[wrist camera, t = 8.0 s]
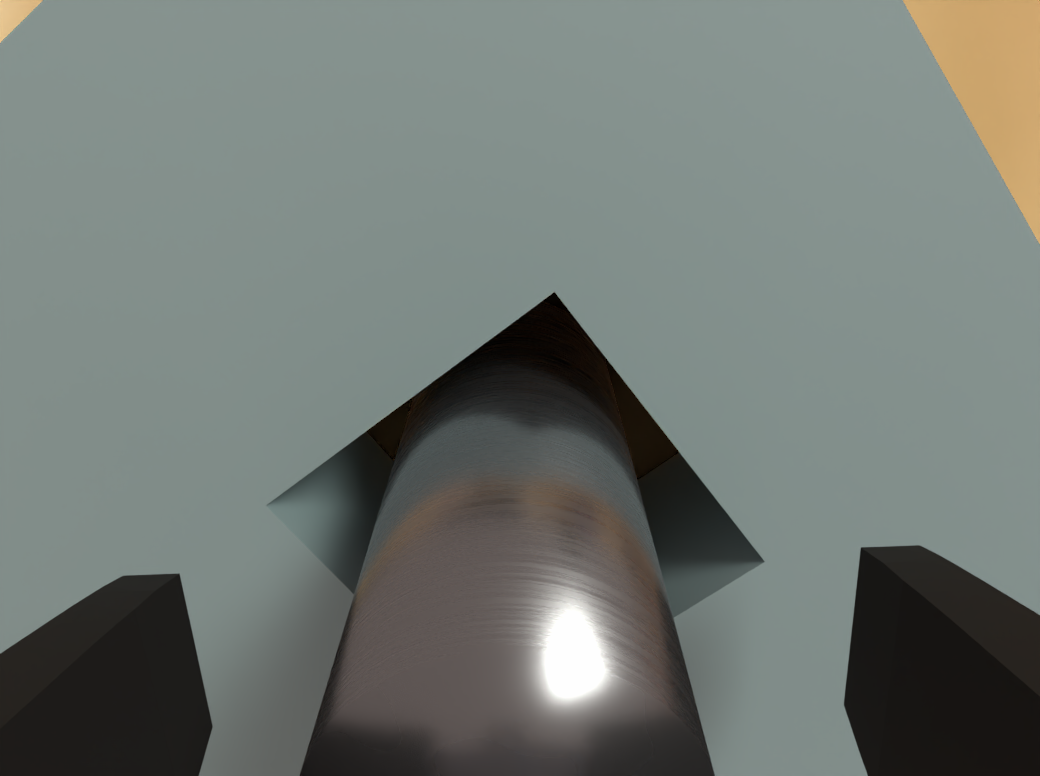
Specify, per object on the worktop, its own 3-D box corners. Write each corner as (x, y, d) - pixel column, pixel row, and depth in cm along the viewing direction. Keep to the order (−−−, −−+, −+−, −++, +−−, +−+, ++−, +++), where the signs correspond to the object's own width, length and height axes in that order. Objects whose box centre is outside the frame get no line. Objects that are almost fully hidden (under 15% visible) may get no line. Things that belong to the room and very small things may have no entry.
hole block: (1098, 518, 16) (1275, 664, 12) (488, 866, 19) (480, 1067, 15) (570, -353, 11) (594, -548, 8) (-122, 296, 14) (-345, 385, 11)
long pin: (636, 433, 15) (777, 907, 7) (469, 498, 16) (410, 1015, 7) (565, 266, 14) (630, 590, 6) (388, 341, 15) (213, 742, 6)
